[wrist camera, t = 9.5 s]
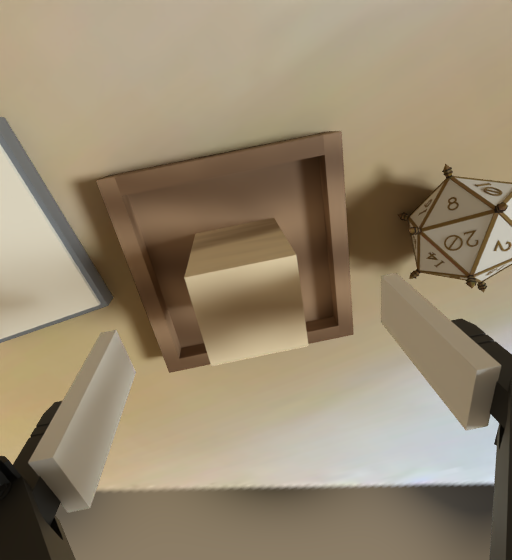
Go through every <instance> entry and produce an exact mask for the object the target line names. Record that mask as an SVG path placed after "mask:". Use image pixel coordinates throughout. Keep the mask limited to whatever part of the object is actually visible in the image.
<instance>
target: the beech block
mask: <svg viewBox="0 0 512 560" xmlns="http://www.w3.org/2000/svg"><path fill="white" fill-rule="evenodd" d="M184 278H185V282H186V285H187V288H188V292H189V295H190V298H191V301H192V305H193V308H194V311H195V315H196V318H197V321H198V324H199V328H200V331H201V334H202V337H203V341H204V344H205V347H206V351H207V354H208V357H209V360H210V364H211V366H215V365H219V364H224V363H229V362H234V361H239V360H244V359H248V358H253V357H258V356H263V355H268V354H273V353H277V352H282V351H287V350H292V349H297V348H302V347H306V346H308V338H307V331H306V323H305V316H304V308H303V301H302V293H301V286H300V278H299V271H298V263H297V256H296V253H295V252H294V250H293V248H292V247H291V245H290V243H289V242H288V240H287V238H286V237H285V235H284V233H283V232H282V230H281V228H280V227H279V225H278V223H277V222H276V220H275V218H270V219H265V220H260V221H255V222H251V223H246V224H241V225H236V226H231V227H226V228H221V229H216V230H211V231H206V232H201V233H196V234H195V237H194V241H193V245H192V249H191V253H190V257H189V261H188V265H187V269H186V273H185V277H184Z"/></svg>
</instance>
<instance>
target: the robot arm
mask: <svg viewBox="0 0 512 560" xmlns="http://www.w3.org/2000/svg"><path fill="white" fill-rule="evenodd" d="M381 323H382V324H383V325H384V327H385V328H386V329H387V330H388V332H389V333H390V334H391V335H392V337H393V338H394V339H395V341H396V342H397V343H398V344H399V346H400V347H401V348H402V349H403V351H404V352H405V353H406V355H407V356H408V357H409V358H410V360H411V361H412V362H413V364H414V365H415V366H416V367H417V369H418V370H419V371H420V372H421V374H422V375H423V376H424V378H425V379H426V380H427V381H428V383H429V384H430V385H431V386H432V388H433V389H434V390H435V392H436V393H437V394H438V395H439V397H440V398H441V399H442V400H443V402H444V403H445V404H446V406H447V407H448V408H449V409H450V411H451V412H452V413H453V415H454V416H455V417H456V418H457V420H458V421H459V422H460V423H461V425H462V426H463V427H464V429H465V430H471V429H475V428H480V427H485V426H488V423H489V418H490V414H491V415H492V416H493V417H494V418H495V419H496V420H497V421H498V422H499V427H498V431H497V435H496V439H495V443H494V444H495V445H497V452H496V468H495V484H494V501H493V517H492V532H491V548H490V560H512V354H510V353H509V352H508V351H507V350H505V349H504V348H503V347H502V346H500V345H499V344H498V343H497V342H494V340H493V339H492V338H491V337H489V336H488V335H486V334H485V333H484V332H483V331H482V330H481V329H480V328H478V327H477V326H476V325H474V324H472V323H470V322H468V321H465V320H463V319H457V320H452V321H450V320H449V319H448V318H447V317H446V316H445V315H444V314H443V313H441V312H440V311H439V310H438V309H437V308H436V307H435V306H433V305H432V304H431V303H430V302H429V301H428V300H427V299H426V298H424V297H423V296H422V295H421V294H420V293H419V292H418V291H416V290H415V289H414V288H413V287H412V286H411V285H410V284H408V283H407V282H406V281H405V280H404V279H403V278H402V277H401V276H399V275H398V274H397V273H393V274H388V275H384V276H381ZM135 373H136V371H135V369H134V367H133V365H132V363H131V360H130V358H129V356H128V354H127V352H126V350H125V347H124V345H123V343H122V341H121V339H120V337H119V334H118V332H117V330H113V331H108V332H103V333H100V335H99V337H98V339H97V341H96V342H95V344H94V346H93V348H92V350H91V351H90V353H89V355H88V357H87V358H86V360H85V362H84V364H83V366H82V367H81V369H80V371H79V373H78V374H77V376H76V378H75V380H74V382H73V383H72V385H71V387H70V389H69V390H68V392H67V394H66V396H65V398H64V399H63V401H60V402H55V403H54V404H53V405H52V406H51V407H50V408H49V409H48V410H47V411H46V412H45V413H44V414H43V416H42V417H41V419H40V421H39V422H38V424H37V427H36V428H35V429H34V431H33V432H32V434H31V438H29V439H28V441H27V442H26V444H25V446H24V447H23V449H22V451H21V452H20V454H19V456H18V457H17V459H16V460H15V462H14V464H13V465H12V464H11V462H10V461H9V460H8V459H7V458H6V457H5V456H0V560H75V557H74V555H73V552H72V550H71V548H70V545H69V543H68V540H67V538H66V536H65V533H64V531H63V528H62V526H61V523H60V521H59V520H58V518H57V517H56V516H55V514H56V512H57V509H58V507H59V505H60V503H61V505H62V506H63V507H64V508H65V510H66V511H67V512H73V511H78V510H83V509H88V508H90V507H91V504H92V501H93V498H94V495H95V492H96V489H97V486H98V483H99V480H100V477H101V474H102V471H103V468H104V465H105V462H106V459H107V456H108V453H109V450H110V447H111V444H112V441H113V438H114V435H115V433H116V430H117V427H118V424H119V421H120V418H121V415H122V412H123V409H124V406H125V403H126V400H127V397H128V394H129V391H130V388H131V385H132V382H133V379H134V376H135Z"/></svg>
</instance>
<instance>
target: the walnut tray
mask: <svg viewBox="0 0 512 560" xmlns="http://www.w3.org/2000/svg"><path fill="white" fill-rule="evenodd" d="M96 182H97V185H98V188H99V190H100V193H101V195H102V198H103V201H104V203H105V206H106V209H107V211H108V214H109V216H110V219H111V222H112V224H113V227H114V229H115V232H116V235H117V237H118V240H119V243H120V245H121V248H122V250H123V253H124V256H125V258H126V261H127V263H128V266H129V269H130V271H131V274H132V276H133V279H134V282H135V284H136V287H137V290H138V292H139V295H140V297H141V300H142V303H143V305H144V308H145V310H146V313H147V316H148V318H149V321H150V324H151V326H152V329H153V331H154V334H155V337H156V339H157V342H158V344H159V347H160V350H161V352H162V355H163V358H164V360H165V363H166V365H167V368H168V371H169V373H170V372H175V371H180V370H185V369H190V368H194V367H199V366H204V365H209V364H210V360H209V357H208V354H207V351H206V347H205V344H204V341H203V337H202V334H201V331H200V328H199V324H198V321H197V318H196V315H195V311H194V308H193V305H192V301H191V298H190V295H189V292H188V288H187V285H186V282H185V278H184V277H185V273H186V269H187V265H188V261H189V257H190V253H191V249H192V245H193V241H194V237H195V234H196V233H201V232H206V231H211V230H216V229H221V228H226V227H231V226H236V225H241V224H246V223H251V222H255V221H260V220H265V219H270V218H275V220H276V222H277V223H278V225H279V227H280V228H281V230H282V232H283V233H284V235H285V237H286V238H287V240H288V242H289V243H290V245H291V247H292V248H293V250H294V252H295V253H296V256H297V263H298V271H299V278H300V286H301V293H302V301H303V308H304V316H305V323H306V331H307V338H308V344H310V343H315V342H319V341H324V340H329V339H334V338H339V337H343V336H348V335H353V318H352V301H351V284H350V267H349V250H348V233H347V216H346V199H345V182H344V165H343V149H342V132H341V131H329V132H324V133H319V134H314V135H309V136H304V137H299V138H294V139H289V140H284V141H279V142H274V143H269V144H264V145H259V146H254V147H249V148H244V149H239V150H234V151H229V152H224V153H219V154H214V155H209V156H204V157H199V158H194V159H190V160H185V161H180V162H175V163H170V164H165V165H160V166H155V167H150V168H145V169H140V170H135V171H130V172H125V173H120V174H115V175H110V176H107V177H104V178H102V179H99V180H97V181H96Z"/></svg>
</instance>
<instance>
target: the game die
mask: <svg viewBox="0 0 512 560" xmlns="http://www.w3.org/2000/svg"><path fill="white" fill-rule="evenodd" d="M451 169H452V168H451V167H449V166H448V165H446V164H445V167H444V170H443V171H442V172H444V175H445V176H446V179H445V180H444V181H443V182H442V183H441V184H440V185H439V186H438V187H437V188H436V189H435V190H434V191H433V192H432V194H431V195H430V196H429V197H428V198H427V199H426V200H425V201H424V202H423V203H422V204H421V205H420V206H419V207H418V208H417V209H416V210H415V211H414V212H413V213H412V214H411V215H410V216H409V215H407V214H405V213H403V214H400V215H398V216H399V217H400V218H401V219H402V220H403V219H404V220H408V222H409V228H410V229H409V230H408V231H409V232H410V233H411V238H412V244H413V249H414V255H415V260H416V266H417V270H415V271H413V272H412V273H411V275H410V278H409V279H412V278H416V277H417V276H419V273H426V274H432V275H438V276H444V277H449V278H455V279H461V280H466V281H467V283H466V284H467V285H468V286H470V287H471V288H473V287H474V286H475V285H476V282H478V284H477V285H478V289H479V290H481V291H483V292H484V290H485V289H486V287H487V286H486V283H484V282H483V281H485V280H486V279H488V278H490V277H492V276H493V275H495V274H497V273H498V272H500V271H502V270H504V269H505V268H507V267H509V266H510V265H512V183H510V182H501V181H492V180H483V179H474V178H465V177H456V176H452V172H453V171H452V170H451Z"/></svg>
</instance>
